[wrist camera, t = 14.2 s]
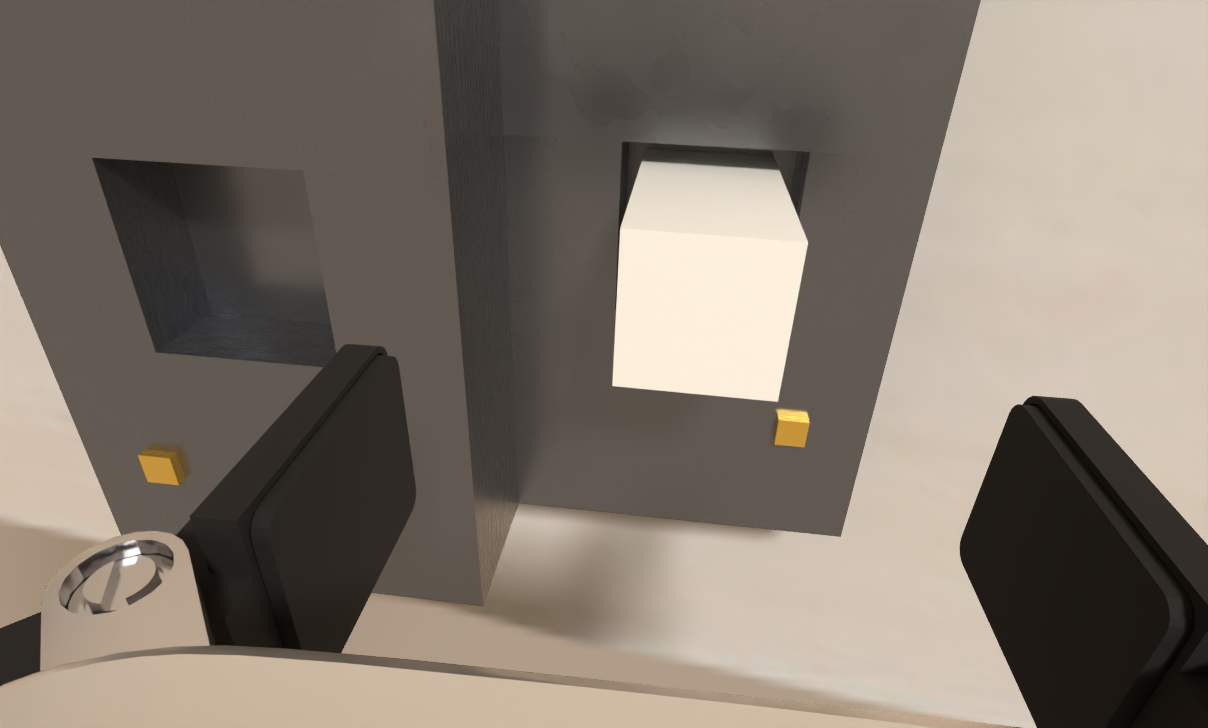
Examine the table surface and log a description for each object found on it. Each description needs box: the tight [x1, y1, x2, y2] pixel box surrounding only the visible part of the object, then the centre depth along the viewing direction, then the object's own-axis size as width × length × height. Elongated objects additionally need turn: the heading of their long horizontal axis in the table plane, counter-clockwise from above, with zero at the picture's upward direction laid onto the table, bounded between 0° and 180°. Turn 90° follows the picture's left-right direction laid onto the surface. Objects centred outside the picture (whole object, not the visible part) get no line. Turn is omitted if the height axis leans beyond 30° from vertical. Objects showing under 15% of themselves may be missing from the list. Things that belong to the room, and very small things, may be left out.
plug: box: [612, 148, 808, 402], centre depth 19 cm, size 4×4×8 cm
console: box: [0, 0, 981, 606], centre depth 21 cm, size 22×24×9 cm
